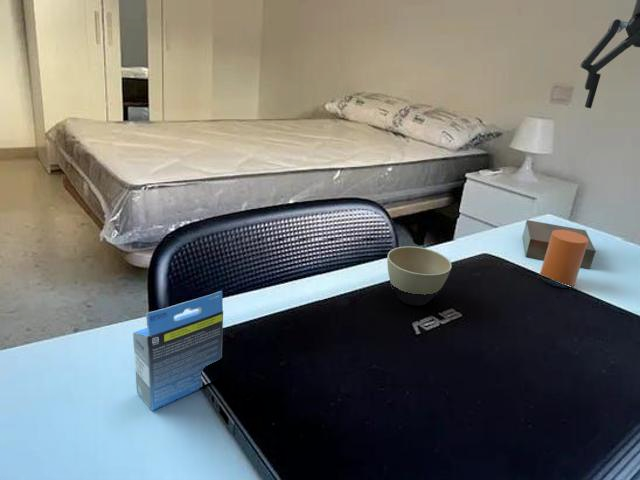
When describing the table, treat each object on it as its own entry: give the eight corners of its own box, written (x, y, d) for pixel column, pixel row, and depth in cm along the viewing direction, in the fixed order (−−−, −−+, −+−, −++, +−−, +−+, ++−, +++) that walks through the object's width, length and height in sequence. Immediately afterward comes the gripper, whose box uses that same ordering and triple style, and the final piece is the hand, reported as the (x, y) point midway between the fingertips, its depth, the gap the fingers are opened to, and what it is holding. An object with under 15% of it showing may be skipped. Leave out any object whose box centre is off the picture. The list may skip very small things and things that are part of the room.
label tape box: (205, 364, 61) (204, 275, 57) (223, 381, 59) (224, 290, 54) (135, 393, 56) (128, 298, 51) (152, 414, 53) (146, 315, 48)
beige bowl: (369, 296, 81) (374, 256, 78) (404, 278, 87) (410, 241, 85) (421, 323, 74) (430, 280, 72) (454, 301, 81) (463, 262, 79)
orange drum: (571, 277, 94) (585, 233, 90) (576, 291, 88) (591, 245, 85) (537, 270, 95) (550, 227, 92) (540, 284, 90) (553, 238, 86)
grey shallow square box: (580, 247, 109) (585, 230, 107) (589, 269, 98) (595, 250, 96) (522, 236, 112) (526, 219, 110) (525, 256, 101) (530, 238, 99)
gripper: (732, 0, 91) (689, 117, 100) (585, -10, 98) (556, 101, 106) (751, -4, 85) (703, 122, 93) (591, -13, 91) (560, 105, 99)
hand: (624, 111), depth 100 cm, fingers open, 13 cm apart
